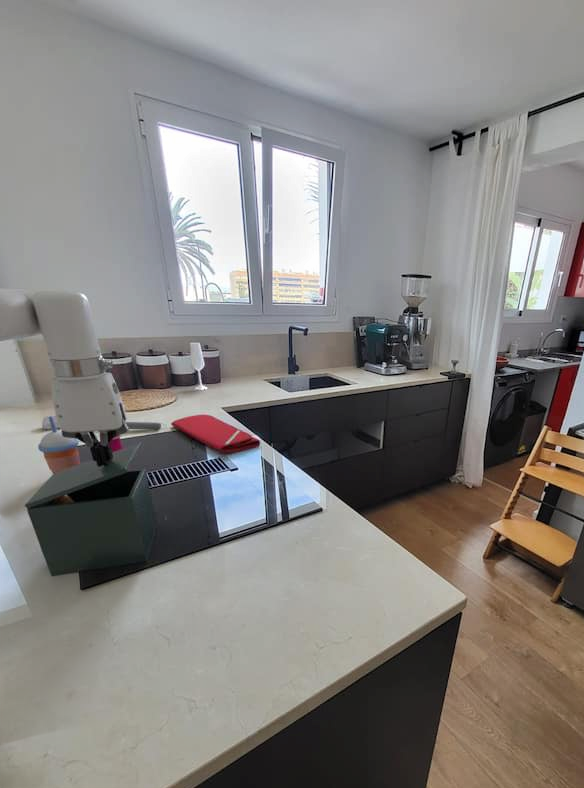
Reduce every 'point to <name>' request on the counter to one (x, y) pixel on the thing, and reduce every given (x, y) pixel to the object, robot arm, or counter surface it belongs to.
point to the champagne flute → (197, 362)
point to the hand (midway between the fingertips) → (104, 463)
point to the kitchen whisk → (144, 425)
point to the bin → (98, 525)
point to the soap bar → (47, 424)
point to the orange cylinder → (62, 500)
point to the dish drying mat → (216, 433)
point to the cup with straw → (59, 450)
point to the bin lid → (84, 476)
